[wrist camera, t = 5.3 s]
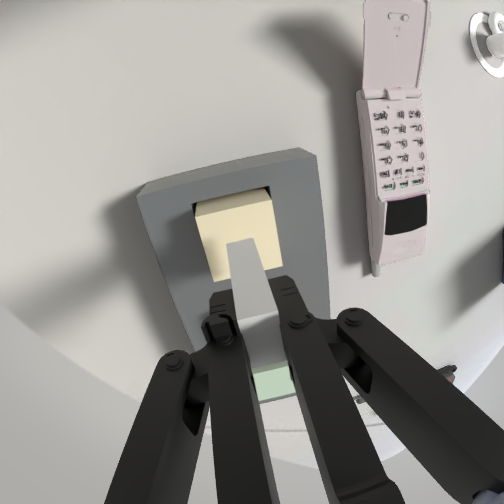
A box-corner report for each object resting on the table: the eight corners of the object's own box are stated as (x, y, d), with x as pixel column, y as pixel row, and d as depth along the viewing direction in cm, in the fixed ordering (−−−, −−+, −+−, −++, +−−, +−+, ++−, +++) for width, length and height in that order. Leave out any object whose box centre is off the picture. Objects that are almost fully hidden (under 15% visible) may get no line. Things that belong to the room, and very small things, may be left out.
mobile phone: (429, -4, 12) (443, 289, 24) (390, 10, 17) (411, 259, 29) (360, -16, 12) (390, 308, 24) (329, 6, 17) (362, 273, 29)
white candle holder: (489, 6, 16) (512, 3, 12) (515, 63, 19) (538, 65, 16) (456, 22, 18) (483, 19, 14) (486, 87, 21) (513, 90, 18)
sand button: (197, 196, 22) (195, 217, 18) (259, 181, 22) (271, 199, 18) (212, 251, 24) (214, 282, 20) (270, 237, 24) (282, 266, 20)
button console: (147, 182, 22) (135, 197, 18) (299, 147, 22) (316, 155, 19) (221, 383, 33) (224, 410, 30) (321, 360, 34) (331, 385, 30)
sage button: (241, 342, 30) (246, 375, 26) (285, 332, 30) (295, 364, 26) (249, 370, 32) (255, 401, 28) (289, 360, 32) (299, 391, 28)
